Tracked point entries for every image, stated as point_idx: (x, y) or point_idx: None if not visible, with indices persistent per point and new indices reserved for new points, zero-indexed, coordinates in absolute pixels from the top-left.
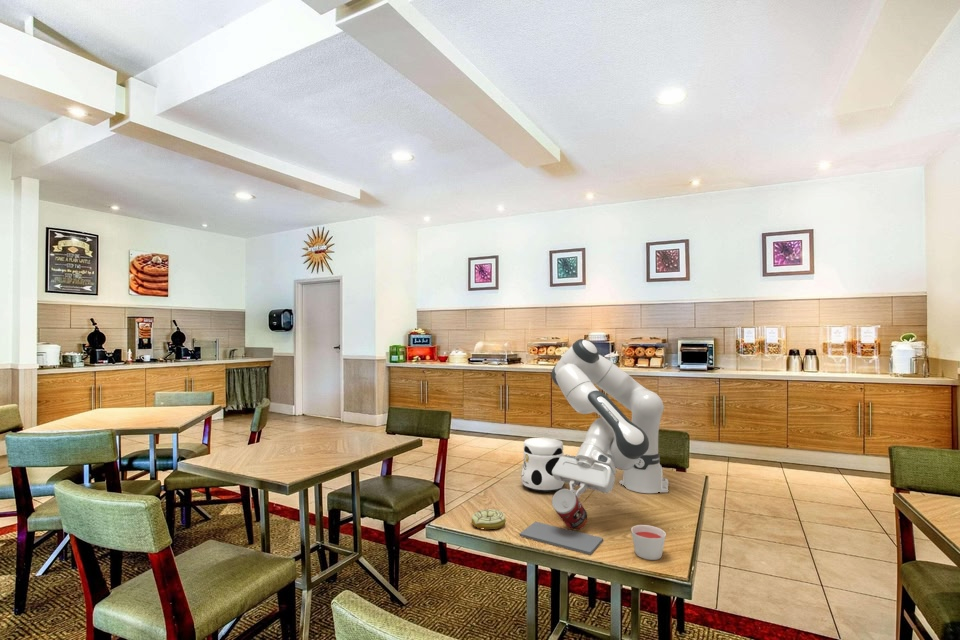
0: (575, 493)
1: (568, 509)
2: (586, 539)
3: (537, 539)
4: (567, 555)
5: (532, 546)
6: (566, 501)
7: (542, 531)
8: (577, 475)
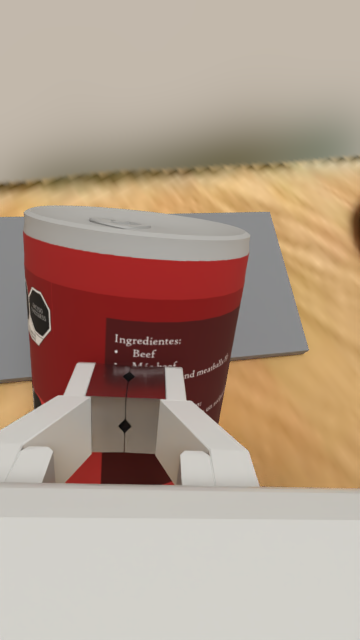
0: (98, 370)
1: (79, 210)
2: (7, 315)
3: (192, 216)
4: (41, 185)
5: (180, 181)
6: (115, 223)
7: None
8: (146, 595)
